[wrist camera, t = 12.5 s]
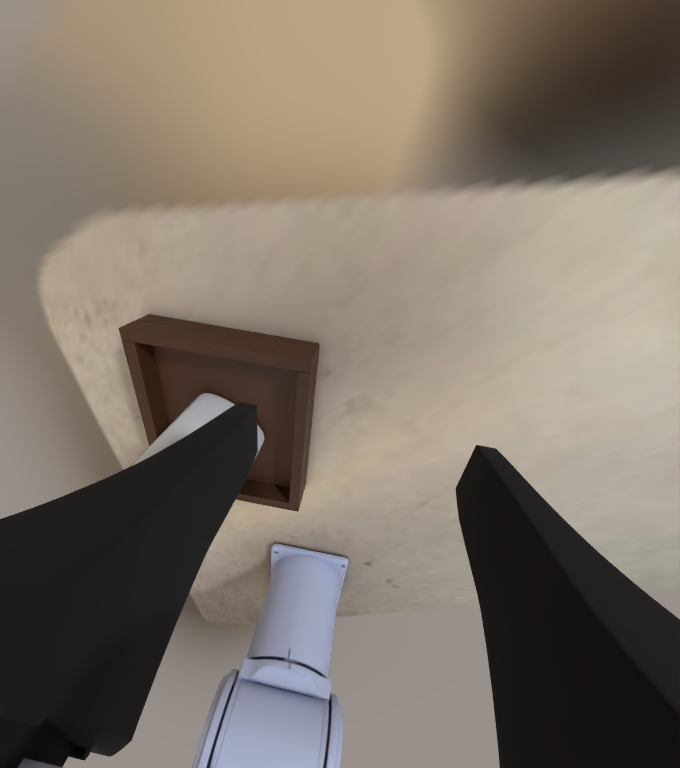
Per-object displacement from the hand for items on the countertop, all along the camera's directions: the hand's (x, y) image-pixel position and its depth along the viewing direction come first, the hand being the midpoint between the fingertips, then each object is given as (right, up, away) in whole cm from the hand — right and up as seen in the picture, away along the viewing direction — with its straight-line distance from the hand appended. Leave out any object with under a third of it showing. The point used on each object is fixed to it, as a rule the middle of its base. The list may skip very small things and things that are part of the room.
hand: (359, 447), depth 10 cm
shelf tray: (-9, 0, +13) cm, 16 cm away
